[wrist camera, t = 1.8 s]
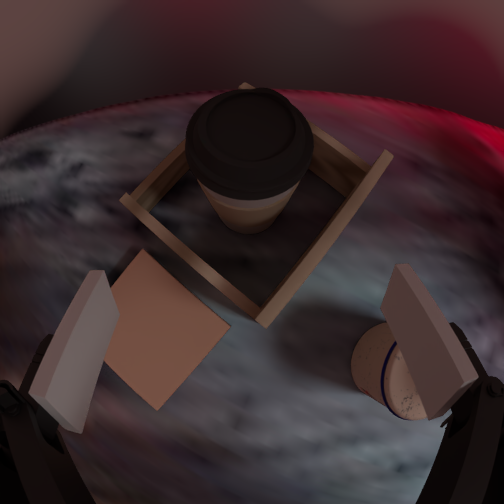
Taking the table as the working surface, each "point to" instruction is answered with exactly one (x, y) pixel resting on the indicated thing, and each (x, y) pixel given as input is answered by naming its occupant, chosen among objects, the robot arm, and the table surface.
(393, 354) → the teacup with lid
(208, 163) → the coffee cup
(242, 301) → the frame
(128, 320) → the terracotta tile
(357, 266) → the table surface
